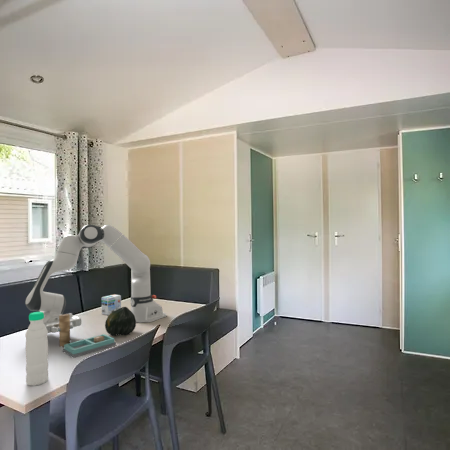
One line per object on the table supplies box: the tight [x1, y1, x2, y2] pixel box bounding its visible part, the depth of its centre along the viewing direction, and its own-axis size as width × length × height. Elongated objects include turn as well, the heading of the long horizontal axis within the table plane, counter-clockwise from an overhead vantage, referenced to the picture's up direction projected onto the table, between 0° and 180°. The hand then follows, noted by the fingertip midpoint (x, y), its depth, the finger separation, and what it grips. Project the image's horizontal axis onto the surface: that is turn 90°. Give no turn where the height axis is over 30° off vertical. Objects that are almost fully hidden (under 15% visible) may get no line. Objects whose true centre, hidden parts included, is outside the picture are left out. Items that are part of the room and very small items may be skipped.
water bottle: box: [25, 311, 49, 387], centre depth 121 cm, size 7×7×25 cm
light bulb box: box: [101, 293, 122, 316], centre depth 215 cm, size 11×7×11 cm, turn 148°
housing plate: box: [62, 333, 117, 358], centre depth 154 cm, size 20×11×4 cm, turn 137°
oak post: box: [58, 313, 71, 348], centre depth 158 cm, size 4×4×14 cm
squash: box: [104, 306, 137, 336], centre depth 173 cm, size 14×15×15 cm
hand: (65, 328), depth 157 cm, fingers closed on oak post, 4 cm apart
